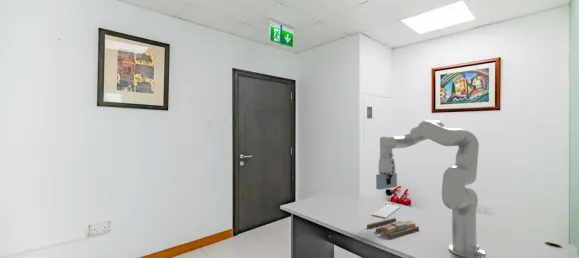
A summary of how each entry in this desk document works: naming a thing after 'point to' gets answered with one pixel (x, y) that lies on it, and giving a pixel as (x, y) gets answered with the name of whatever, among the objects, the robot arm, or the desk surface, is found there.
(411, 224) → the offcut
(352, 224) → the desk surface
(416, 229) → the offcut rack
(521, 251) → the desk surface
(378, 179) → the tall sheet
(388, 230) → the offcut
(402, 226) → the offcut
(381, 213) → the baseboard molding
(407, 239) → the desk surface
